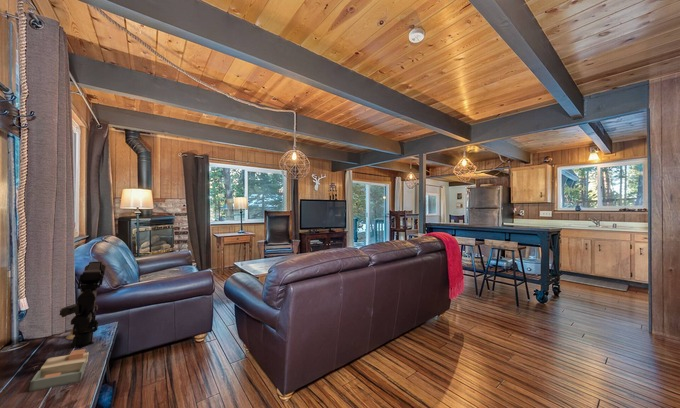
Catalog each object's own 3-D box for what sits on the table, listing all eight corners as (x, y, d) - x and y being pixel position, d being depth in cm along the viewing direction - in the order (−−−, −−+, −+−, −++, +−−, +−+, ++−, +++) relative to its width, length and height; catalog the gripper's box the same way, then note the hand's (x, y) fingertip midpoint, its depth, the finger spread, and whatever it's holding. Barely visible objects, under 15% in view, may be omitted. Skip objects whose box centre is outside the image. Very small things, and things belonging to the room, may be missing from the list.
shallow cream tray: (46, 367, 113) (48, 358, 113) (87, 361, 120) (88, 352, 121) (38, 379, 106) (40, 368, 106) (83, 371, 113) (84, 361, 113)
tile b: (41, 381, 101) (40, 386, 101) (58, 378, 104) (57, 383, 103) (45, 375, 105) (44, 380, 104) (61, 372, 107) (60, 377, 107)
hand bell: (76, 332, 145) (81, 303, 146) (91, 333, 145) (96, 304, 146) (60, 339, 137) (66, 307, 138) (76, 340, 137) (81, 309, 138)
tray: (36, 380, 105) (38, 370, 105) (84, 371, 113) (85, 362, 113) (28, 391, 98) (30, 381, 99) (80, 381, 106) (81, 372, 107)
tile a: (71, 355, 117) (71, 350, 117) (84, 353, 119) (85, 348, 120) (68, 360, 113) (69, 355, 113) (82, 358, 116) (83, 353, 116)
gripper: (69, 293, 127) (64, 326, 126) (56, 306, 111) (50, 344, 111) (100, 292, 133) (95, 323, 132) (92, 304, 118) (86, 339, 117)
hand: (82, 332), depth 123 cm, fingers closed
